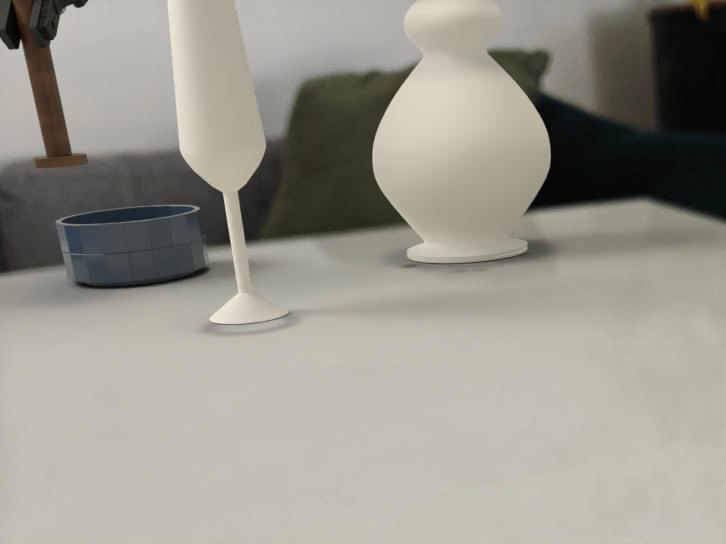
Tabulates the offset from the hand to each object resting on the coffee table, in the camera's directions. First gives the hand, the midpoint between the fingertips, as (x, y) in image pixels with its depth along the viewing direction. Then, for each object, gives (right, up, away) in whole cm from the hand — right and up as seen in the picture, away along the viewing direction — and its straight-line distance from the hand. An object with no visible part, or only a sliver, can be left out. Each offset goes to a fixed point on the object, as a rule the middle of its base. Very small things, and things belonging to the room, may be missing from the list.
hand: (23, 40), depth 94 cm
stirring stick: (+1, -8, +6) cm, 10 cm away
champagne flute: (+19, -23, 0) cm, 30 cm away
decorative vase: (+37, -10, +22) cm, 44 cm away
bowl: (+3, -13, +22) cm, 26 cm away
